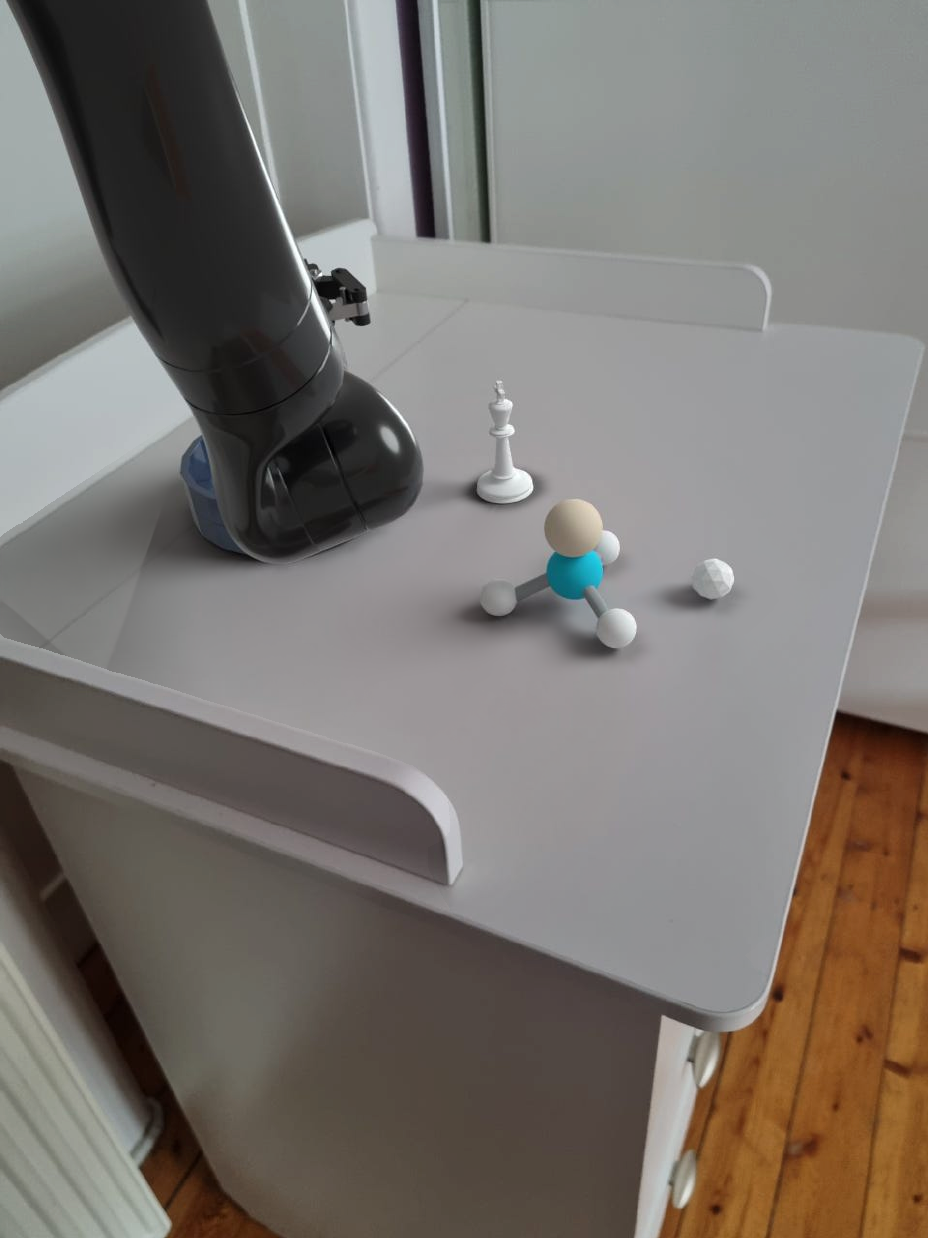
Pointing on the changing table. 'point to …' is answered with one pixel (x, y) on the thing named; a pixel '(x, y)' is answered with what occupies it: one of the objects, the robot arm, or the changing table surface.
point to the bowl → (204, 496)
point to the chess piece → (503, 458)
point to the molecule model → (571, 570)
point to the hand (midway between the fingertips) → (261, 278)
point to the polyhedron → (712, 578)
